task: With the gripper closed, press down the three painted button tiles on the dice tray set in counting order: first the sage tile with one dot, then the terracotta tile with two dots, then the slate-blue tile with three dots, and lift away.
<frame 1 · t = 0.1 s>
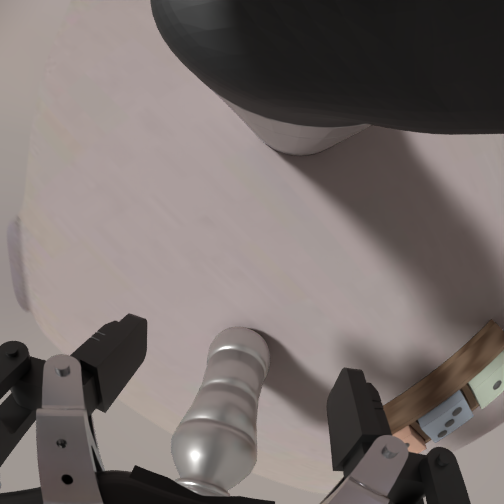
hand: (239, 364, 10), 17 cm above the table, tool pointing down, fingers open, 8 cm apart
button two: (396, 446, 27), point 5 cm above the table, slide at 0.0 cm
button three: (446, 415, 25), point 5 cm above the table, slide at 0.0 cm
button one: (492, 378, 22), point 5 cm above the table, slide at 0.0 cm
plastic bottle: (243, 343, 31), on the table
dice tray set: (434, 391, 30), on the table
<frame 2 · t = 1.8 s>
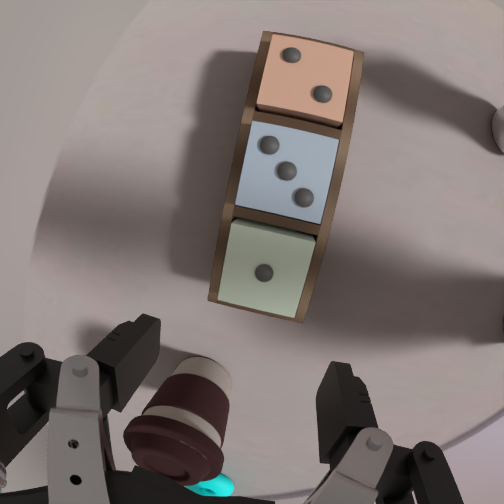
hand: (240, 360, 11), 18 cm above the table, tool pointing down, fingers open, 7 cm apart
button two: (306, 80, 19), point 5 cm above the table, slide at 0.0 cm
donuts: (209, 477, 41), on the table
button three: (287, 171, 21), point 5 cm above the table, slide at 0.0 cm
button one: (265, 267, 23), point 5 cm above the table, slide at 0.0 cm
plastic bottle: (501, 134, 21), on the table
coffee cup: (204, 376, 33), on the table
dice tray set: (287, 173, 26), on the table
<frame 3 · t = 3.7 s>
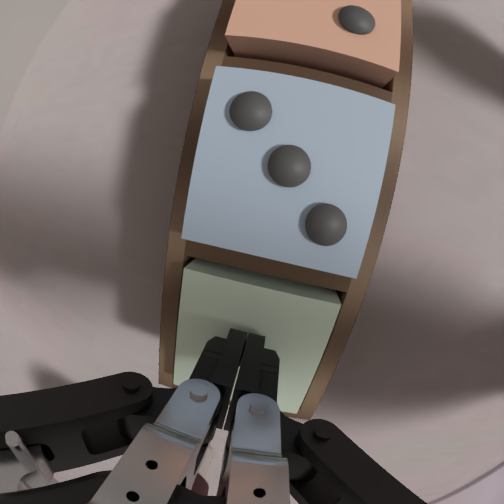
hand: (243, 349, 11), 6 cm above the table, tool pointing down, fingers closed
button two: (320, 6, 8), point 5 cm above the table, slide at 0.0 cm
button three: (289, 168, 10), point 5 cm above the table, slide at 0.0 cm
button one: (250, 337, 13), point 4 cm above the table, slide at 0.8 cm, touching gripper
coffee cup: (178, 442, 23), on the table
dice tray set: (288, 172, 15), on the table
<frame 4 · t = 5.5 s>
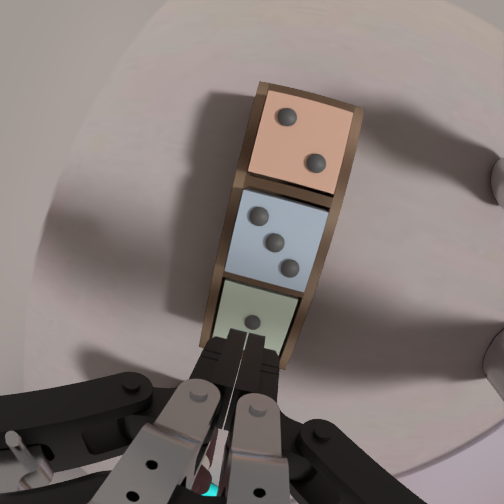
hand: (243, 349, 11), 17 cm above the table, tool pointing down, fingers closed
button two: (300, 142, 20), point 5 cm above the table, slide at 0.0 cm
donuts: (199, 485, 42), on the table
button three: (275, 238, 22), point 5 cm above the table, slide at 0.0 cm
button one: (254, 314, 26), point 3 cm above the table, slide at 1.6 cm
plastic bottle: (500, 183, 22), on the table
coffee cup: (196, 400, 35), on the table
dice tray set: (277, 227, 27), on the table
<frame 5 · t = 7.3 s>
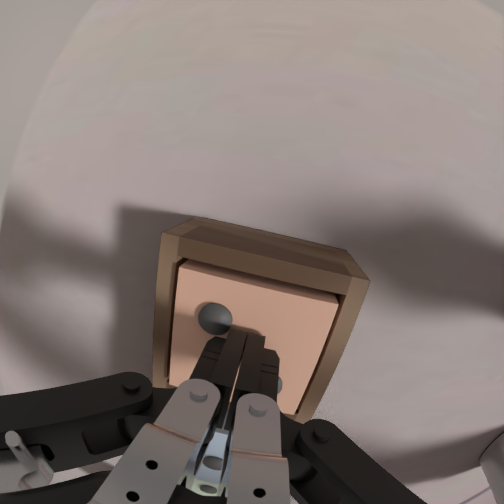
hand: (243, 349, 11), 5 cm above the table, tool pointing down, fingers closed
button two: (247, 337, 13), point 4 cm above the table, slide at 1.1 cm, touching gripper
button three: (220, 445, 14), point 5 cm above the table, slide at 0.0 cm
button one: (212, 476, 18), point 3 cm above the table, slide at 1.6 cm
dice tray set: (234, 393, 19), on the table
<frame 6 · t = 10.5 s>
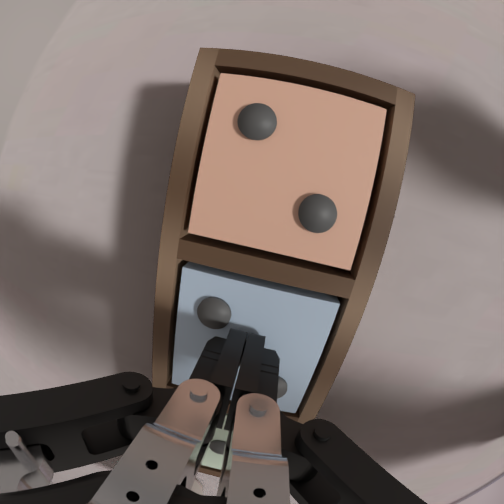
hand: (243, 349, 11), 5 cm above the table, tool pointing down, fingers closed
button two: (287, 168, 11), point 4 cm above the table, slide at 1.6 cm
button three: (249, 336, 13), point 4 cm above the table, slide at 1.5 cm, touching gripper
button one: (225, 430, 15), point 3 cm above the table, slide at 1.6 cm
dice tray set: (257, 304, 17), on the table
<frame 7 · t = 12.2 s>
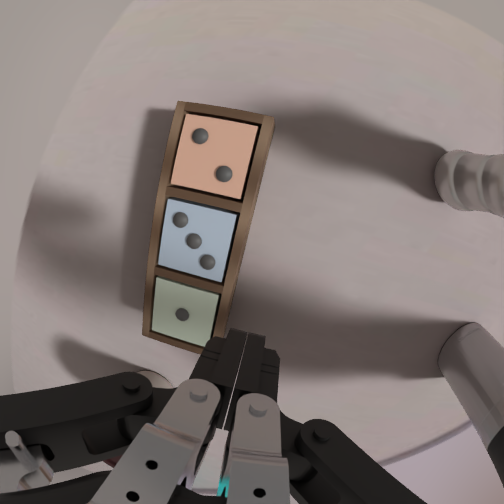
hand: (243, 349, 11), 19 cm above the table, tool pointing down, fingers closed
button two: (215, 155, 24), point 4 cm above the table, slide at 1.6 cm
button three: (198, 237, 26), point 4 cm above the table, slide at 1.6 cm
button one: (186, 308, 29), point 3 cm above the table, slide at 1.6 cm
plastic bottle: (448, 178, 26), on the table
coffee cup: (154, 386, 38), on the table
dice tray set: (207, 229, 30), on the table
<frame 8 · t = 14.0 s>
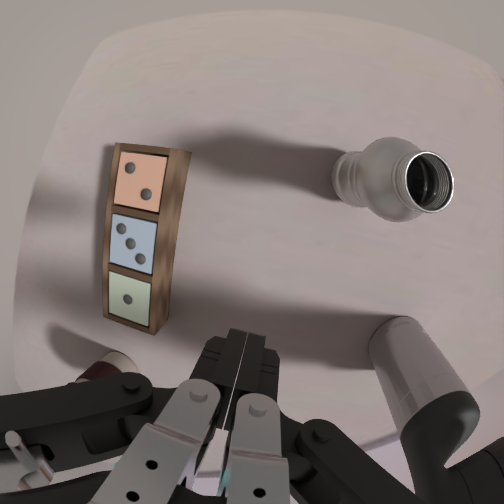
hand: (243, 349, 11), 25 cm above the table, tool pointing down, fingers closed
button two: (143, 180, 32), point 4 cm above the table, slide at 1.6 cm
button three: (136, 241, 34), point 4 cm above the table, slide at 1.6 cm
button one: (133, 295, 36), point 3 cm above the table, slide at 1.6 cm
plastic bottle: (353, 179, 33), on the table
coffee cup: (122, 366, 45), on the table
dice tray set: (148, 235, 38), on the table
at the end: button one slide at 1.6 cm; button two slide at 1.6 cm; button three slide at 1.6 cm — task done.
